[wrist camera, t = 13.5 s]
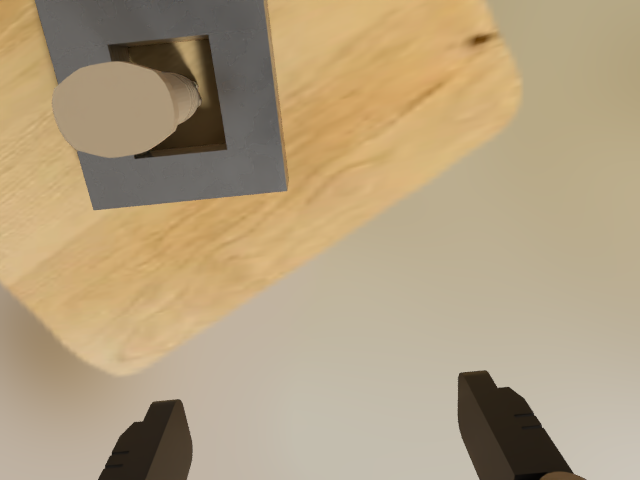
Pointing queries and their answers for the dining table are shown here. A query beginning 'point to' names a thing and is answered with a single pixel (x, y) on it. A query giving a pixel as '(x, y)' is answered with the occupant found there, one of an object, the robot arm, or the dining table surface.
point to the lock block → (232, 84)
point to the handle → (122, 107)
